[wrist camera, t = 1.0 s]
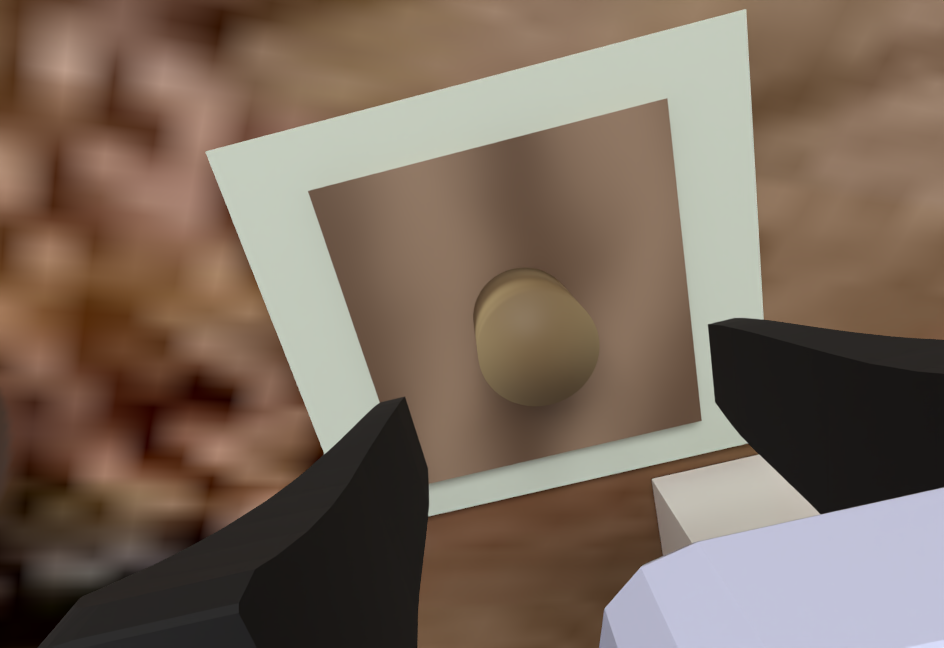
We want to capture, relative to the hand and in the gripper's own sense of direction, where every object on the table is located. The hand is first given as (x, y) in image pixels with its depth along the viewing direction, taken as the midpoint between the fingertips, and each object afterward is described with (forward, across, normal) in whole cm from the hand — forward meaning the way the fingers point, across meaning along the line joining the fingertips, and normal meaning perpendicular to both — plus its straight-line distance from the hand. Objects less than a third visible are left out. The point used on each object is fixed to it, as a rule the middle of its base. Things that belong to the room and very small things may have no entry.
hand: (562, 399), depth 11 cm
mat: (+8, 0, 0) cm, 8 cm away
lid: (+7, 0, 0) cm, 7 cm away
